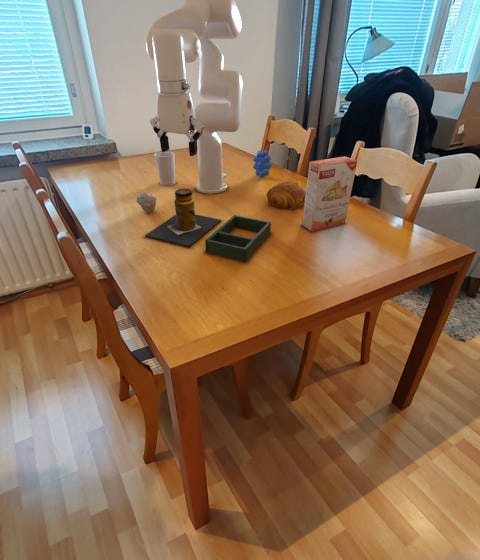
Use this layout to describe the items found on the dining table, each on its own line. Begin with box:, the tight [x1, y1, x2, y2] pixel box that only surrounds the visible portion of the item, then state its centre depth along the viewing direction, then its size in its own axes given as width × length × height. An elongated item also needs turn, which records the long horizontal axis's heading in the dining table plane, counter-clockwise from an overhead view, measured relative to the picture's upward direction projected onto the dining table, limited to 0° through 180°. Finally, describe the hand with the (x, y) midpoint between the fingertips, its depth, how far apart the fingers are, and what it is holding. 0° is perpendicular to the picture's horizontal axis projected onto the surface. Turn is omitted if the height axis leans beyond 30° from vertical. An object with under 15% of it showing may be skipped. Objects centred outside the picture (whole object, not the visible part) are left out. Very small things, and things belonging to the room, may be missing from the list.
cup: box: [154, 150, 176, 187], centre depth 147 cm, size 8×8×12 cm
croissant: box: [266, 181, 306, 210], centre depth 130 cm, size 14×16×8 cm
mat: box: [144, 214, 222, 249], centre depth 114 cm, size 20×16×1 cm
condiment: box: [167, 188, 201, 235], centre depth 110 cm, size 7×8×12 cm
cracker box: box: [301, 156, 358, 232], centre depth 111 cm, size 14×6×21 cm, turn 117°
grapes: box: [252, 149, 273, 179], centre depth 153 cm, size 12×7×12 cm, turn 34°
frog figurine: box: [135, 192, 157, 213], centre depth 123 cm, size 6×7×7 cm
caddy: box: [204, 214, 272, 263], centre depth 105 cm, size 19×13×4 cm, turn 155°
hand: (179, 152), depth 104 cm, fingers open, 9 cm apart
